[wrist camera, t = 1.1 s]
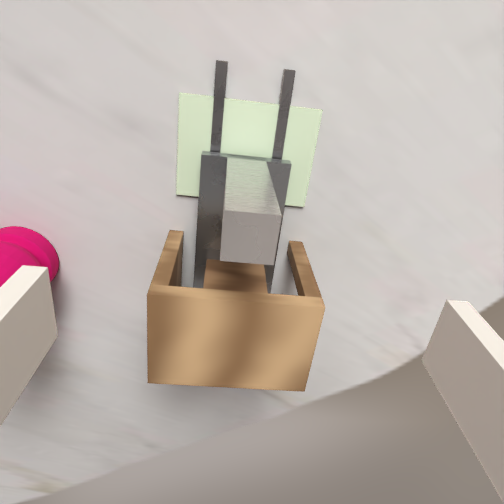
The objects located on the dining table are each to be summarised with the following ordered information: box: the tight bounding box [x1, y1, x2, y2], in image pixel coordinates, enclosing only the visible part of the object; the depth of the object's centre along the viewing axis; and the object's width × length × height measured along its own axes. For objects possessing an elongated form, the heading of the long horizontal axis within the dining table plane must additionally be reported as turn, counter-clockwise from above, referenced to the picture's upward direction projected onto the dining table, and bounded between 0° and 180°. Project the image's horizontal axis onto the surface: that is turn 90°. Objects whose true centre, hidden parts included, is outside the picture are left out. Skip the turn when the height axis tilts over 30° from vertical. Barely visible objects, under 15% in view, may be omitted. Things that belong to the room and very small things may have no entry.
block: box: [203, 259, 268, 293], centre depth 33 cm, size 5×5×5 cm
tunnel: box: [147, 230, 325, 391], centre depth 32 cm, size 12×8×10 cm, turn 83°
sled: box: [194, 151, 292, 294], centre depth 30 cm, size 7×18×12 cm, turn 173°
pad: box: [176, 93, 323, 207], centre depth 32 cm, size 11×8×1 cm
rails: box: [210, 60, 295, 159], centre depth 36 cm, size 6×32×1 cm, turn 173°
